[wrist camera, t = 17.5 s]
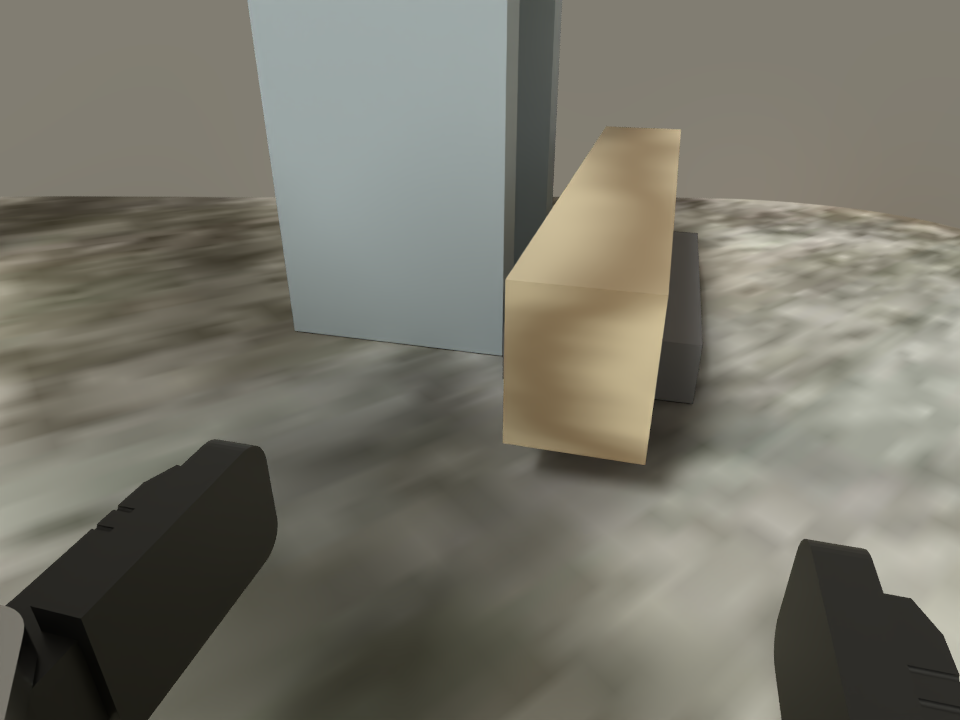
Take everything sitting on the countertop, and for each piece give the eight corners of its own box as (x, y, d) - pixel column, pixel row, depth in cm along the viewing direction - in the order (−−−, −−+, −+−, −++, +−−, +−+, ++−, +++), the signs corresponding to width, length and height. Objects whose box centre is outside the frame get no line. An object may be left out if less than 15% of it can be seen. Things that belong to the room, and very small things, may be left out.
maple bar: (502, 443, 20) (505, 279, 17) (598, 215, 40) (606, 126, 38) (645, 465, 19) (668, 295, 16) (669, 220, 39) (681, 129, 37)
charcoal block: (502, 379, 28) (503, 323, 27) (557, 264, 40) (560, 223, 39) (692, 403, 26) (702, 345, 25) (690, 276, 38) (697, 233, 37)
